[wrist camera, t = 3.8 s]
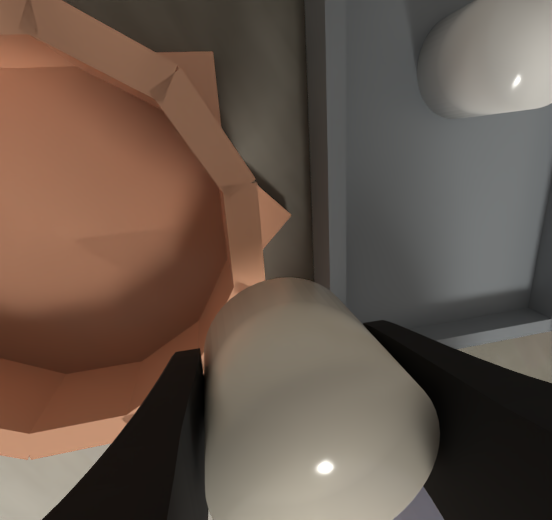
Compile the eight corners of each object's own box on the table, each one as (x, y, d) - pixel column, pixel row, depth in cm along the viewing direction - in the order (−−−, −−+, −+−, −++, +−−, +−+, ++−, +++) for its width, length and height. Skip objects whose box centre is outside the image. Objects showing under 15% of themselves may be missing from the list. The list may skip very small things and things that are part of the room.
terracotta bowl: (297, 376, 20) (322, 436, 16) (-88, 449, 17) (-186, 550, 12) (274, -25, 14) (305, -102, 10) (-343, -36, 11) (-703, -160, 6)
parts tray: (522, 310, 22) (560, 329, 20) (316, 347, 20) (331, 373, 17) (592, -78, 16) (660, -118, 13) (301, -94, 13) (322, -145, 11)
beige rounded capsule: (351, 397, 11) (428, 525, 7) (212, 423, 10) (218, 583, 6) (354, 268, 10) (452, 344, 6) (194, 287, 9) (189, 389, 5)
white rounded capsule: (495, 116, 17) (581, 106, 13) (414, 121, 16) (479, 112, 12) (509, 10, 15) (609, -36, 11) (420, 10, 14) (496, -39, 11)
